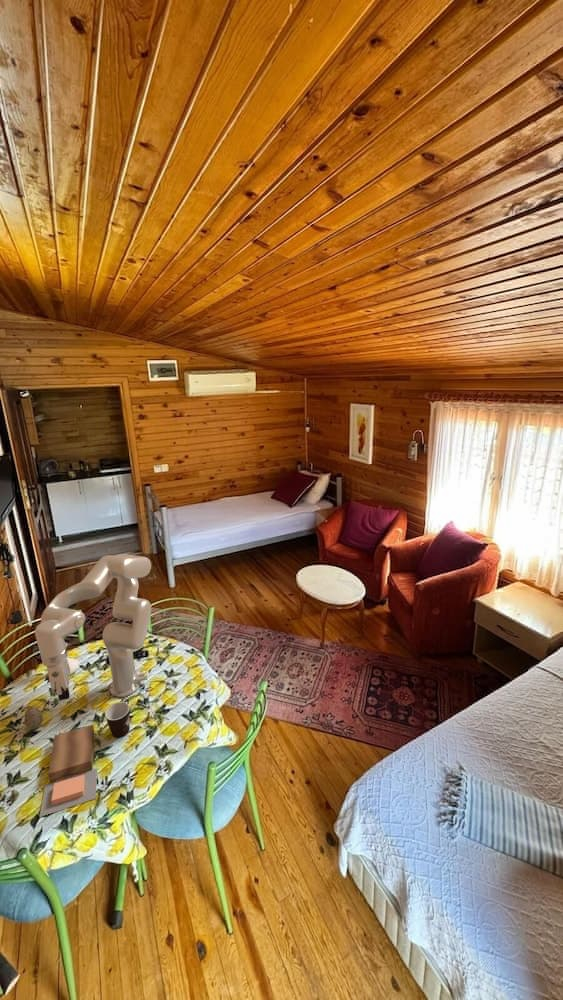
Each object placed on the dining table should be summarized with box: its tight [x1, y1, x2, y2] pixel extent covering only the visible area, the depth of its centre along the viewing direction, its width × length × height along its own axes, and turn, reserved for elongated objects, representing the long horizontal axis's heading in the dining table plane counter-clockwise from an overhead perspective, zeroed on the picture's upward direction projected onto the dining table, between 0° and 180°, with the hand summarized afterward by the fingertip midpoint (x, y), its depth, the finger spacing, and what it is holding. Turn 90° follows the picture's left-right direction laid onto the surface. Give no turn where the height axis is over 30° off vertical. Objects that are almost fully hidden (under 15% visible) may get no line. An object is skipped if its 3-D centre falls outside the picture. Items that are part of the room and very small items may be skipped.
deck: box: [47, 724, 96, 784], centre depth 145 cm, size 13×16×4 cm
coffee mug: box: [104, 698, 131, 739], centre depth 156 cm, size 12×9×10 cm
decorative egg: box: [24, 705, 44, 731], centre depth 156 cm, size 6×6×10 cm
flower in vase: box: [65, 642, 80, 676], centre depth 184 cm, size 13×11×25 cm
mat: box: [39, 768, 98, 818], centre depth 133 cm, size 16×11×1 cm
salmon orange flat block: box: [51, 775, 85, 805], centre depth 133 cm, size 9×6×2 cm, turn 110°
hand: (64, 697), depth 143 cm, fingers closed
